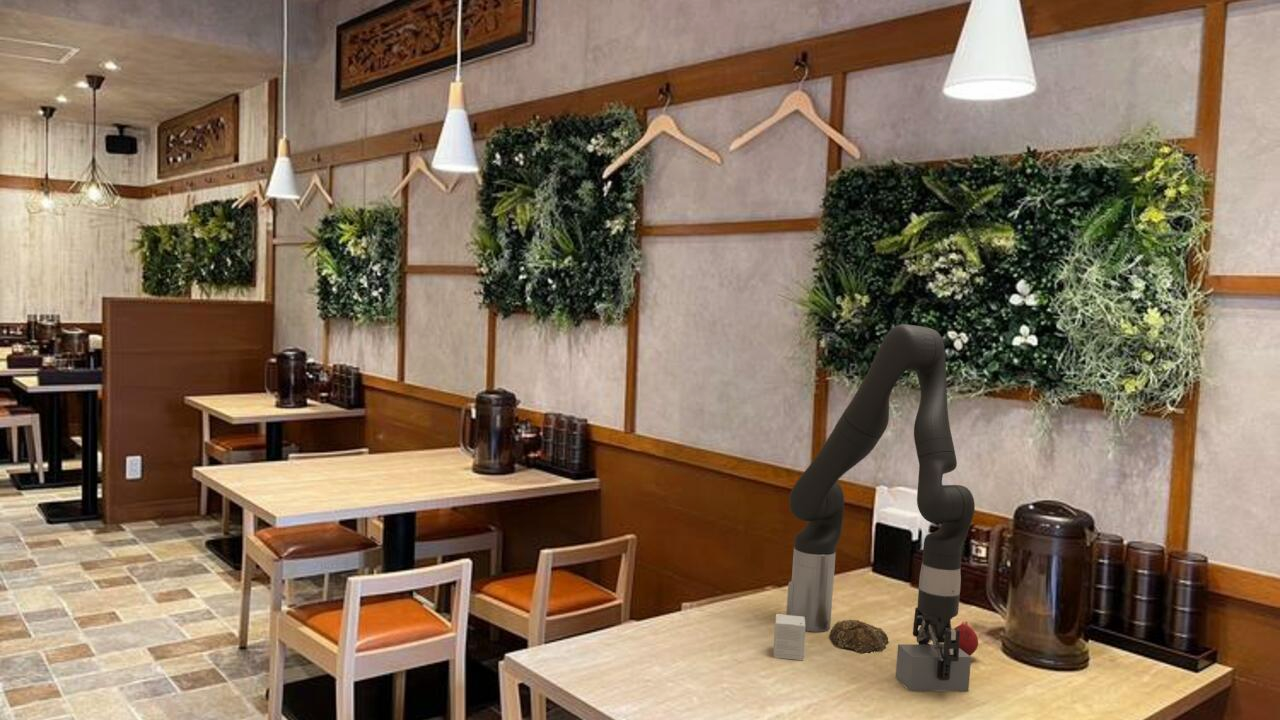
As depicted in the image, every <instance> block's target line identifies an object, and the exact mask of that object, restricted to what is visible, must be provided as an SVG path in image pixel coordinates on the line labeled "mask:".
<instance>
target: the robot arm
mask: <svg viewBox="0 0 1280 720" xmlns="http://www.w3.org/2000/svg"><path fill="white" fill-rule="evenodd" d="M946 361H947V359H946V350H945V343H944V340H943V338H942V336H941V334H940V333H939V332H938V331H937V330H935V329H933V328H930V327H926V326H921V325H914V324H913V325H912V324H908V323H907V324H905V323H904V324H903V323H902V324H898V325H895V326H894V327H893V328H891V329H890V330H889V331H888V332H887V334H886V335H885V336H884V338H883V340H882V341H881V344H880V346H879V348H878V350H877V352H876V354H875V356H874V358H873V361H872V362H871V365H870V366H869V369H868V370H867V373H866V375H865V376H864V378H863V380H862V382H861V384H860V386H859V387H858V389H857V390H856V391H855V392H856V393H855V394H854V396H852V399H851V401H850V402H849V404H848V405H847V406H846V408H845V409H844V411H843V413H842V415H841V416H840V418H838V420H837V423H836V424H835V426H834V428H833V429H832V431H831V433H830V434H829V436H828V438H827V439H826V440H825V442H824V444H823V446H822V447H821V449H820V450H819V452H818V453H817V454H816V457H814V459H813V461H812V462H811V463H810V464H809V465H808V467H807V469H805V471H804V472H803V473H802V475H801V476H799V478H798V479H797V481H796V482H795V484H794V485H793V487H792V489H791V491H790V494H789V499H788V500H789V509H790V513H791V514H792V515H793V516H794V517H795V518H796V519H798V520H800V521H804V522H808V523H807V525H806V526H805V527H804V528H803V529H802V530H801V531H799V532H798V533H796V535H795V536H794V541H793V557H792V570H791V571H792V573H791V580H790V581H789V582H788V588H787V597H786V613H785V615H792V616H802V617H805V626H806V627H805V632H814V633H815V632H817V633H818V632H825V631H828V630H831V621H832V609H833V608H832V606H833V593H834V582H835V581H834V580H835V579H834V578H835V568H836V567H835V565H836V553H837V545H838V543H839V541H840V538H841V535H842V528H843V518H844V512H845V496H844V491H843V488H842V486H841V484H840V483H839V482H838V480H839V479H840V478H841V477H842V476H844V475H845V474H846V473H848V472H849V470H851V469H852V468H853V467H855V466H856V465H858V464H859V463H860V462H861V461H862V460H864V459H865V458H866V457H867V456H869V454H870V453H871V452H872V451H873V450H874V448H875V447H876V445H877V444H878V442H879V441H880V439H881V438H882V436H883V435H884V433H885V432H886V429H887V428H888V425H889V420H890V397H891V394H892V392H893V389H894V388H895V386H896V384H897V382H898V381H899V379H900V378H901V377H902V375H903V374H905V372H914V373H916V376H917V379H918V382H919V383H918V384H919V389H920V400H919V404H918V405H919V406H918V410H917V413H916V416H915V420H914V426H913V437H914V438H913V439H914V440H913V441H914V444H915V449H916V450H915V451H916V455H917V460H918V465H919V466H918V467H919V468H918V481H917V482H918V483H917V492H916V493H917V494H916V505H917V509H918V511H919V513H920V515H921V516H922V518H923V519H924V520H925V521H927V522H929V523H933V524H937V523H938V524H939V523H941V526H940V528H939V529H938V530H936V531H934V532H930V533H928V534H927V535H926V536H925V537H924V540H923V547H922V558H921V559H922V560H921V567H920V572H919V582H918V583H919V584H918V591H917V592H918V595H917V606H916V607H915V608H914V609H915V610H914V619H913V625H912V626H913V627H912V636H913V637H915V638H916V643H918V644H930V643H931V642H932V644H933V646H934V648H935V649H936V650H937V653H938V658H939V660H938V671H937V678H938V679H939V680H949V679H950V667H951V662H952V661H958V658H959V638H960V631H959V629H954V628H952V624H951V622H952V621H951V620H952V619H953V618H955V617H957V616H958V614H959V607H960V593H961V582H962V579H961V578H962V577H961V568H962V567H961V565H962V554H963V553H962V551H963V545H964V543H965V540H966V538H967V535H968V533H969V530H970V527H971V525H972V521H973V518H974V516H975V510H976V509H975V498H974V495H973V493H972V492H971V490H970V489H969V488H967V487H966V486H964V485H960V484H947V485H946V484H945V485H944V484H943V477H944V476H943V475H945V474H949V473H951V472H953V471H955V469H956V468H957V464H958V461H957V457H956V456H957V455H956V452H955V450H956V449H955V446H954V441H953V437H952V431H951V426H950V421H949V420H950V419H949V418H950V417H949V409H948V389H947V387H948V386H947V384H948V383H947V365H946V363H947V362H946ZM942 649H944V653H943V652H942ZM952 649H953V653H952Z"/></svg>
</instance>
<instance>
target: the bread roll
mask: <svg viewBox="0 0 1280 720" xmlns="http://www.w3.org/2000/svg"><path fill="white" fill-rule="evenodd" d="M829 637H830V638H829V639H830V640H831V642H832V643H833V645H834V646H835V645H836V646H835V647H837V648H840V649H847V650H848V649H850V650H854V651H855V652H856V653H858V652H860V653H859V654H865V653H868V654H872V653H871V652H873V653H874V651H875V652H876V651H881V652H884V651H885V650H886V648H887V647H886V646H887V645H888V644H889V643H890V642H889V637H888V635H887V633H886V632H885V631H884V630H883V629H882V628H881V627H877V626H874V625H872V624H869V623H867V622H863V621H861V620H859V619H858V620H857V619H846V620H845V619H844V620H841V621H837V622H836V623H835V624H833V626H832V627H831V628H830V633H829ZM883 650H884V651H883Z"/></svg>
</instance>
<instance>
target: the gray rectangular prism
mask: <svg viewBox="0 0 1280 720" xmlns="http://www.w3.org/2000/svg"><path fill="white" fill-rule="evenodd" d="M942 652H943V653H944V649H942ZM952 653H953V649H952ZM938 660H939V658H938V653H937V650H936V649H935V648H934V646H933V643H932V644H930V643H928V644H919V643H918V644H914V643H913V644H911V643H908V644H904V643H903V644H901V643H899V644H897V653H896V666H895V679H897V681H899V682H900V683H901V685H903V684H904V685H905V686H906V687H907V688H908V689H907V688H906V687H905V686H904V685H903V686H904V687H905V688H906V689H907V690H908V692H935V691H934V690H946V691H945V692H965V691H966V692H969V688H970V676H971V674H970V673H971V665H972V664H971V663H972V656H971V655H970V656H969V655H968V654H967V653H965V652H964V651H963V650H961V649H960V648H959V658H958V661H952V662H951V667H950V679H949V680H939V679H938V678H937V671H938Z"/></svg>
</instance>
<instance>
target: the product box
mask: <svg viewBox="0 0 1280 720" xmlns="http://www.w3.org/2000/svg"><path fill="white" fill-rule="evenodd" d="M805 627H806V626H805V617H802V616H792V615H786V614H781V613H775V620H774V636H773V658H775V659H785V660H795V661H796V660H797V661H804V657H805V641H806V631H805Z"/></svg>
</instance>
